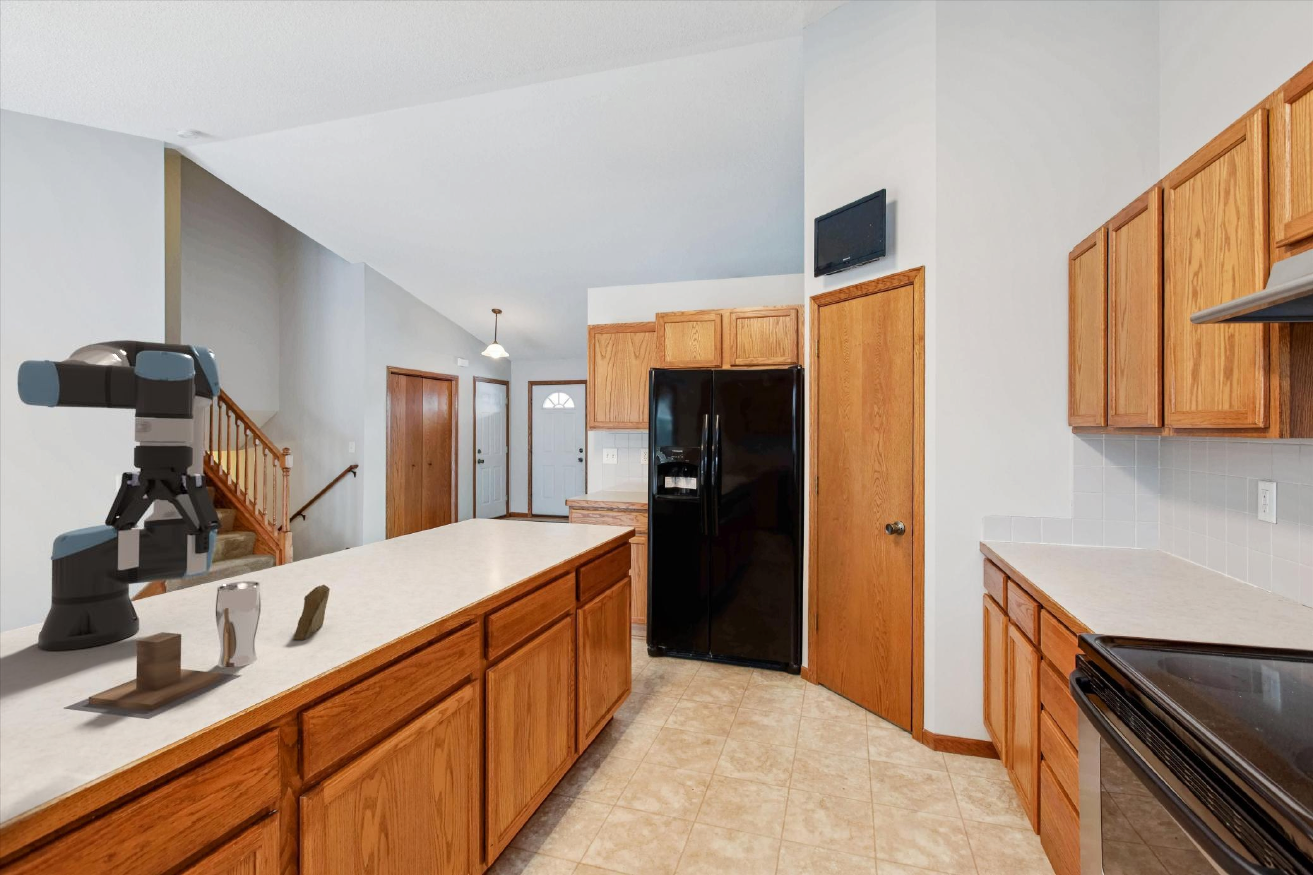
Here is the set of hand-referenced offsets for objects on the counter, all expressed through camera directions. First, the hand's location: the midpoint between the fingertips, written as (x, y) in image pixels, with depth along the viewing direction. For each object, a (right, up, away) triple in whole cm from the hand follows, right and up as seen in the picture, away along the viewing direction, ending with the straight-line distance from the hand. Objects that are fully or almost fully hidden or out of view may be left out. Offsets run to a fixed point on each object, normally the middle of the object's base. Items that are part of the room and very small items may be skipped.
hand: (162, 570), depth 96 cm
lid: (-1, -20, 0) cm, 20 cm away
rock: (+6, -21, +30) cm, 37 cm away
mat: (-1, -21, 0) cm, 21 cm away
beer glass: (+4, -21, +12) cm, 25 cm away
